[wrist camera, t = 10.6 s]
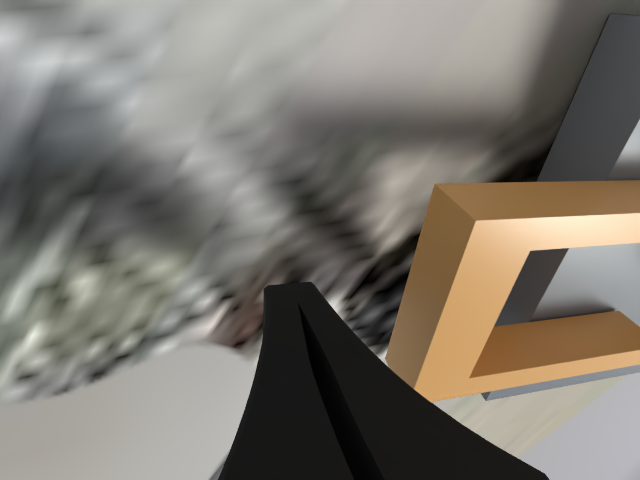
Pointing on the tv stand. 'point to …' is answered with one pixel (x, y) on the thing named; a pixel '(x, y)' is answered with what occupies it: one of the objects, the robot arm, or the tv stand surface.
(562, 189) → the cap
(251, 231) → the tv stand surface
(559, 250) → the housing
